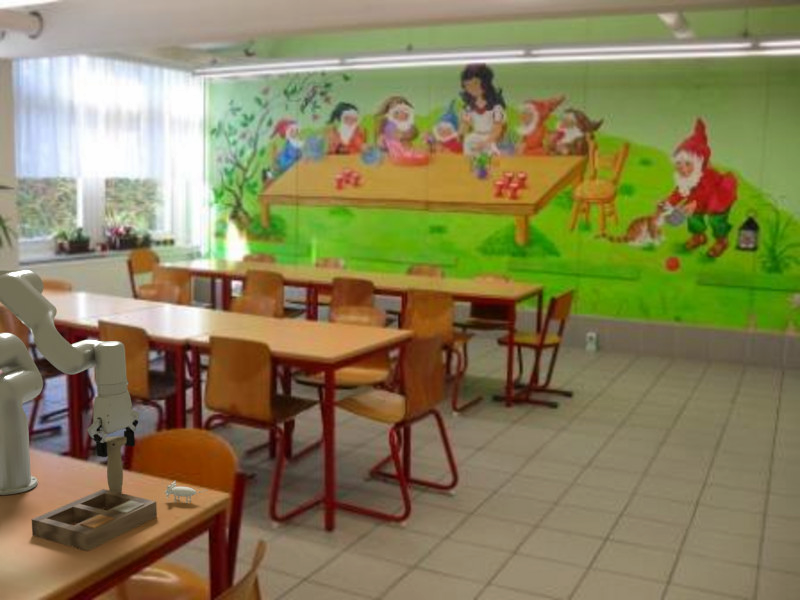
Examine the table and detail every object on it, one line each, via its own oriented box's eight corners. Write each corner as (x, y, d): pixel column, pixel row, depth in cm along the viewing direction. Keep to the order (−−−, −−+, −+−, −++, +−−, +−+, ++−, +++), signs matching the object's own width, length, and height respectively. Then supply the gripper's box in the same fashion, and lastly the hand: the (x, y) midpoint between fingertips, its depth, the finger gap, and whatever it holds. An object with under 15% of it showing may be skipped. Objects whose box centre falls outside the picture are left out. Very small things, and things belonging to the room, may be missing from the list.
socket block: (32, 535, 193) (31, 518, 193) (103, 503, 213) (103, 487, 212) (87, 551, 185) (86, 533, 185) (156, 516, 205) (156, 500, 204)
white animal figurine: (160, 503, 213) (160, 486, 213) (170, 496, 219) (170, 479, 218) (203, 508, 211) (202, 490, 210) (212, 500, 216) (211, 483, 215)
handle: (128, 494, 219) (126, 440, 217) (102, 497, 217) (100, 442, 215) (128, 488, 224) (126, 435, 222) (103, 491, 222) (101, 437, 220)
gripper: (126, 380, 226) (129, 440, 228) (76, 394, 210) (80, 458, 213) (146, 382, 222) (150, 443, 225) (97, 397, 207) (101, 462, 209)
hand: (116, 450), depth 219 cm, fingers open, 9 cm apart
